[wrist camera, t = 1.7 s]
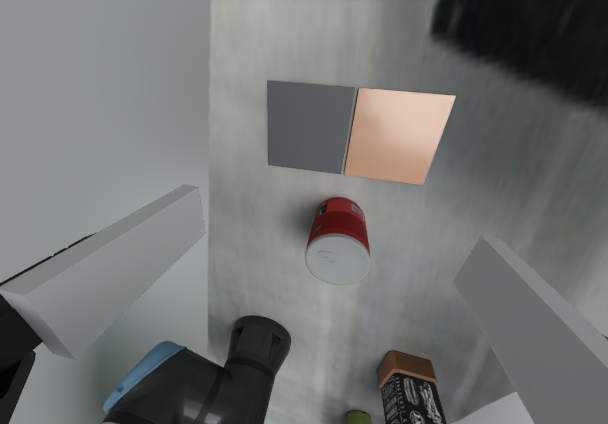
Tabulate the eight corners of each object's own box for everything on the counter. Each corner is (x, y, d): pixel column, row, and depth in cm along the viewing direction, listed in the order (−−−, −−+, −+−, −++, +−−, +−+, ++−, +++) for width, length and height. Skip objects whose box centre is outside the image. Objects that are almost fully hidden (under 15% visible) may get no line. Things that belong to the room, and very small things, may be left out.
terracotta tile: (422, 183, 31) (423, 184, 30) (344, 173, 32) (344, 174, 31) (454, 95, 25) (456, 95, 25) (359, 88, 26) (359, 88, 26)
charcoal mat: (340, 173, 32) (340, 174, 32) (269, 164, 33) (268, 164, 33) (354, 87, 26) (355, 87, 26) (268, 80, 28) (267, 80, 27)
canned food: (317, 193, 34) (305, 232, 25) (369, 199, 33) (377, 242, 24) (314, 233, 38) (302, 280, 28) (360, 239, 37) (364, 290, 27)
